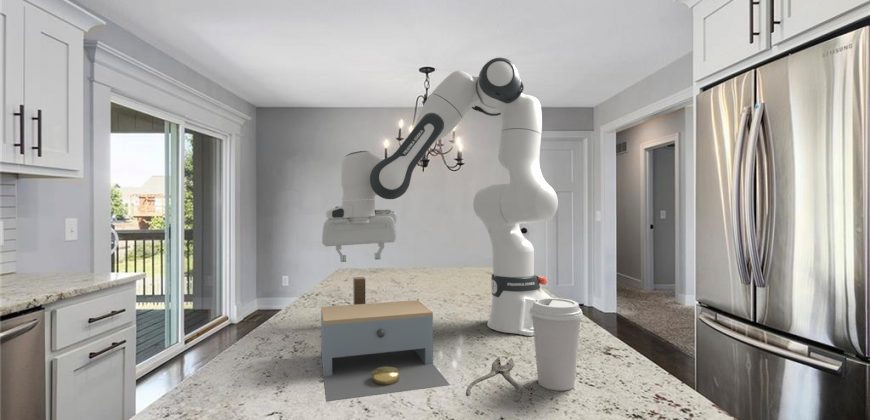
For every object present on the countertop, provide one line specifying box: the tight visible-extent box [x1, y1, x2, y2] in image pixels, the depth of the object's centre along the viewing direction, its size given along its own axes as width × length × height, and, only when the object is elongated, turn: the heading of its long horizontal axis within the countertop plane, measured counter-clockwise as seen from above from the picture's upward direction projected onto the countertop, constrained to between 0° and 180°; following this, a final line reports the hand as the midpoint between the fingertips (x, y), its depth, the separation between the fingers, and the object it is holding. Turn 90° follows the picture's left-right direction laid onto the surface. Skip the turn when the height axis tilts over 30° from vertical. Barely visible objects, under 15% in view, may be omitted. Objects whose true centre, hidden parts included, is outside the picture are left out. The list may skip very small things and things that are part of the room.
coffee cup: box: [529, 297, 584, 392], centre depth 79 cm, size 10×10×15 cm
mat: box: [323, 349, 451, 402], centre depth 87 cm, size 22×25×1 cm
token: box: [372, 367, 399, 386], centre depth 80 cm, size 5×5×2 cm
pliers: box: [465, 356, 522, 403], centre depth 82 cm, size 10×1×20 cm
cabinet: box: [320, 299, 434, 377], centre depth 91 cm, size 22×13×11 cm, turn 107°
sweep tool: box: [352, 276, 366, 305], centre depth 109 cm, size 8×23×13 cm, turn 17°
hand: (360, 260), depth 118 cm, fingers open, 8 cm apart
